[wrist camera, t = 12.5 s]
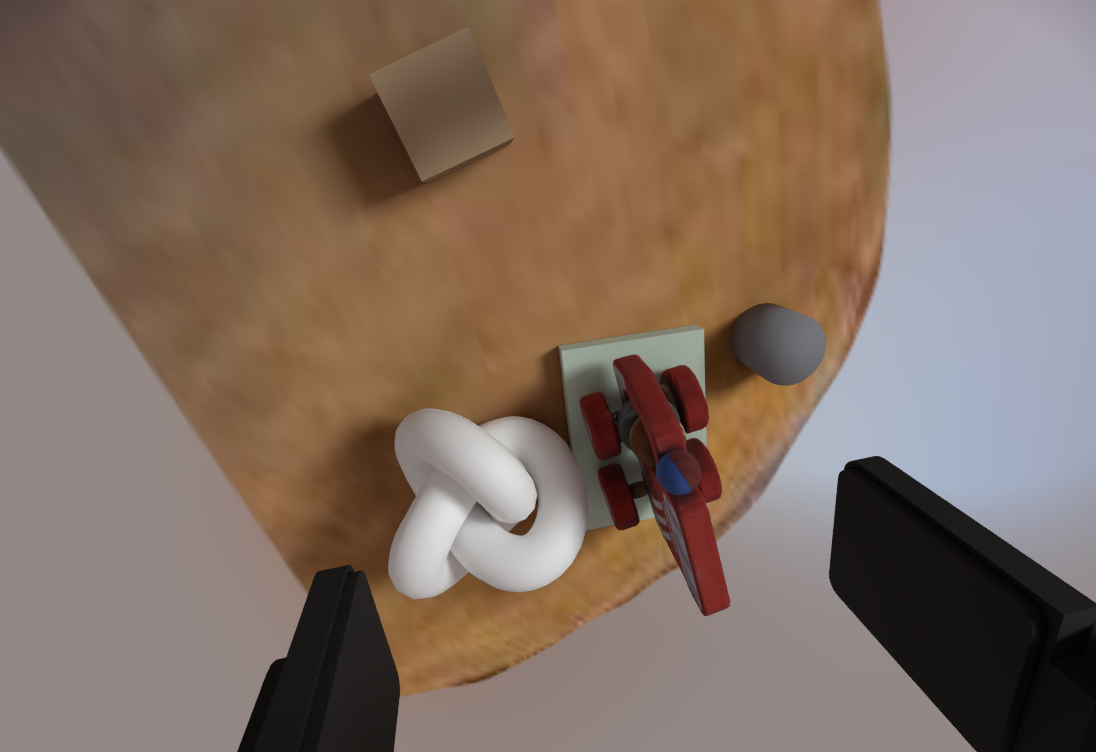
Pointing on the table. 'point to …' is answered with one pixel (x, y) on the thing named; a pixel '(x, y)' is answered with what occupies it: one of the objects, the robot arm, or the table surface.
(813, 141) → the table surface
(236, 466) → the table surface
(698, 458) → the red wheeled piece
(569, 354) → the board
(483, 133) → the walnut block
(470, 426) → the white knot
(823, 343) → the grey rounded pebble
